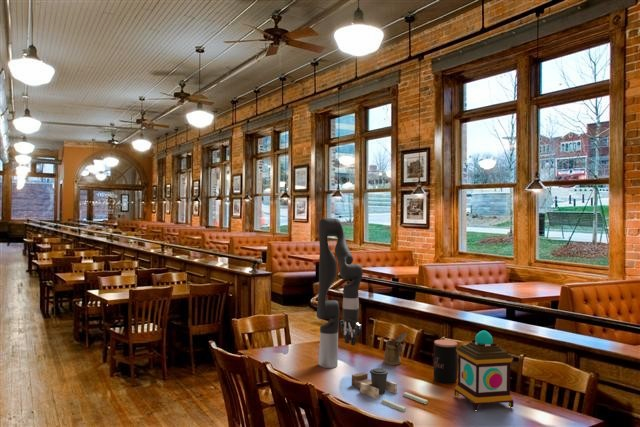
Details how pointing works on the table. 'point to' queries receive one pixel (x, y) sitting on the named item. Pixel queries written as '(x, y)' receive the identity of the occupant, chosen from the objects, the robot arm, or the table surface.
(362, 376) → the pusher
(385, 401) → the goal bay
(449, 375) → the coffee jar
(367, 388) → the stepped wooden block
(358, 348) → the table surface
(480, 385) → the decorative lantern
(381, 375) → the coffee cup
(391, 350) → the brown sack with scoop
